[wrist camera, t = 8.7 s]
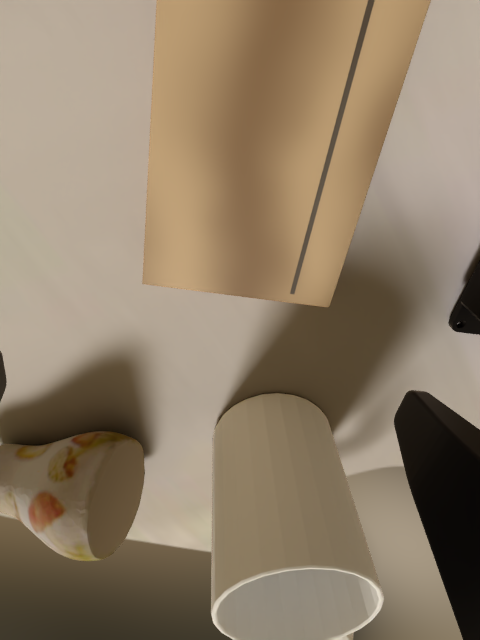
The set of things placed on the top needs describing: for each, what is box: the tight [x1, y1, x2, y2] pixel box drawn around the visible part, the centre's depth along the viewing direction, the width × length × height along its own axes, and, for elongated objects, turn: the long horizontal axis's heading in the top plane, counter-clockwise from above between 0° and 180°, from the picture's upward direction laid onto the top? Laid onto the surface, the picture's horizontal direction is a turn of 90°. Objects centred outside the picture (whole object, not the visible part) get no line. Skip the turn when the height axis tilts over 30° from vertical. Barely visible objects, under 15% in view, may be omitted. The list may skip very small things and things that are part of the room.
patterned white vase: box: [0, 431, 145, 561], centre depth 25 cm, size 8×10×10 cm
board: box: [142, 0, 431, 308], centre depth 14 cm, size 9×22×2 cm, turn 170°
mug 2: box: [211, 393, 384, 640], centre depth 24 cm, size 12×8×10 cm, turn 26°
